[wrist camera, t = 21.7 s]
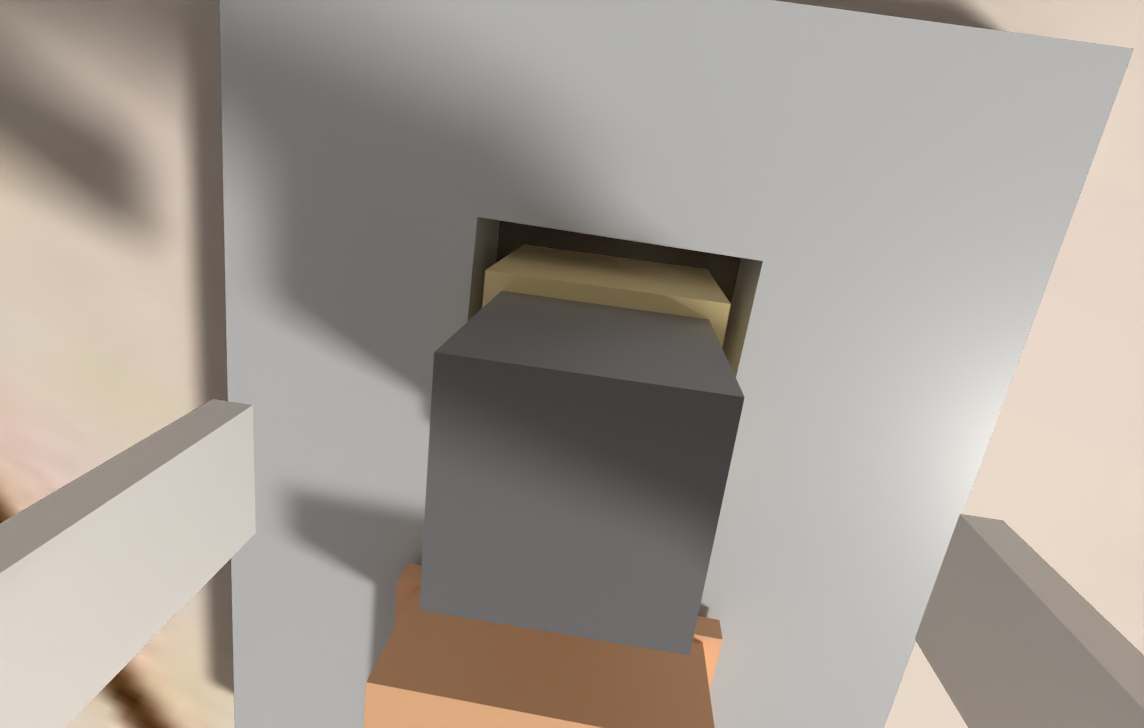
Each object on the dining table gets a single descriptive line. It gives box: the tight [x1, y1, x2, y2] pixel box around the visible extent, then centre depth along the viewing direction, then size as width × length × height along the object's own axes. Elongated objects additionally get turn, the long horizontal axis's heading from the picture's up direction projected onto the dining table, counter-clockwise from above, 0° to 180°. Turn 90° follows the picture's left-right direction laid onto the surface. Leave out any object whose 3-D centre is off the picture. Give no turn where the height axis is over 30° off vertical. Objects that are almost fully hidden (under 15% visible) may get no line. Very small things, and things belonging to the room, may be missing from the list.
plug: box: [419, 244, 745, 656], centre depth 15 cm, size 5×5×10 cm
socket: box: [219, 0, 1133, 728], centre depth 19 cm, size 20×26×3 cm
